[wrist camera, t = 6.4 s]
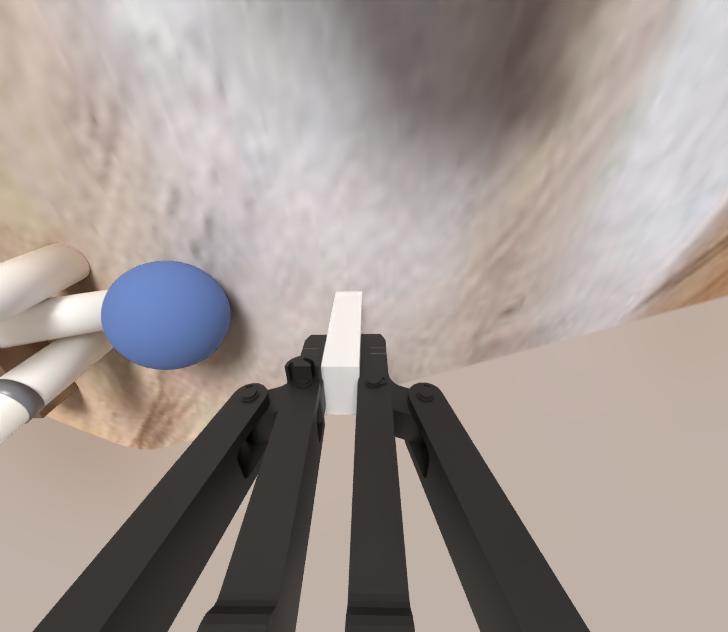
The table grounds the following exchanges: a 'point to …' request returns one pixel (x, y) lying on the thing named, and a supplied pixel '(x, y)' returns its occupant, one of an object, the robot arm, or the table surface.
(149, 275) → the ball
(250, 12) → the table surface
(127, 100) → the table surface
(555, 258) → the table surface
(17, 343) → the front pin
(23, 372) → the pin
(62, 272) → the pin
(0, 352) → the back wall
